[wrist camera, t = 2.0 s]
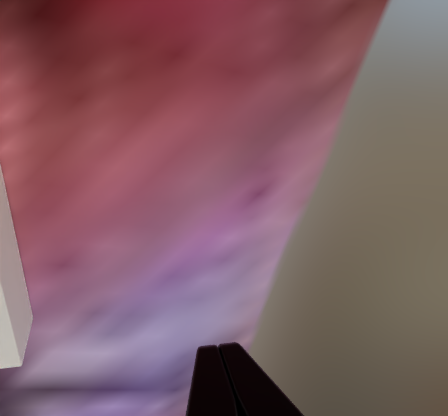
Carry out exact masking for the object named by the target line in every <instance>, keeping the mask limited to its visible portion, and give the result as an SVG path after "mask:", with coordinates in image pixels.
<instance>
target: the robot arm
mask: <svg viewBox="0 0 448 416" xmlns="http://www.w3.org/2000/svg"><path fill="white" fill-rule="evenodd" d="M186 416H304V415H303V414H302V413H301V412H300V411H299V409H298V408H297V407H296V406H295V405H294V404H293V403H292V402H291V401H290V399H289V398H288V397H287V396H286V395H285V394H284V393H283V392H282V391H281V389H280V388H279V387H278V386H277V385H276V384H275V383H274V382H273V381H272V380H271V379H270V377H269V376H268V375H267V374H266V373H265V372H264V371H263V370H262V368H261V367H260V366H259V365H258V364H257V363H256V362H255V361H254V360H253V358H252V357H251V356H250V355H249V354H248V353H247V352H246V351H245V350H244V349H243V347H242V346H241V345H240V344H239V343H236V342H232V343H224V344H220V345H218V347H217V345H207V346H200V347H198V349H197V353H196V359H195V365H194V371H193V376H192V382H191V388H190V394H189V399H188V405H187V411H186Z"/></svg>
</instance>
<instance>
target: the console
mask: <svg viewBox="0 0 448 416" xmlns="http://www.w3.org/2000/svg"><path fill="white" fill-rule="evenodd" d="M32 321H33V315H32V310H31V306H30V301H29V296H28V292H27V287H26V282H25V278H24V273H23V268H22V263H21V259H20V254H19V249H18V245H17V240H16V235H15V231H14V226H13V221H12V217H11V212H10V207H9V202H8V198H7V193H6V188H5V184H4V179H3V174H2V170H1V165H0V369H2V368H10V367H18V366H22V363H23V358H24V354H25V350H26V346H27V342H28V337H29V333H30V329H31V325H32Z"/></svg>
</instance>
